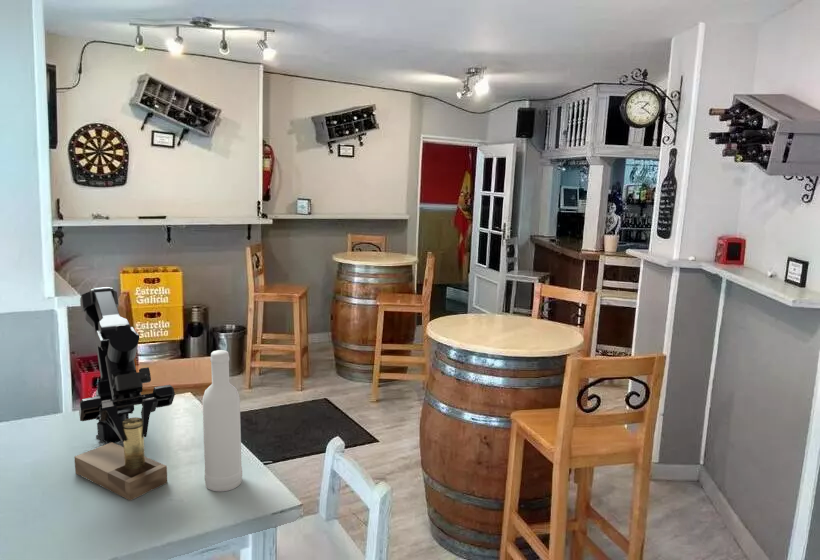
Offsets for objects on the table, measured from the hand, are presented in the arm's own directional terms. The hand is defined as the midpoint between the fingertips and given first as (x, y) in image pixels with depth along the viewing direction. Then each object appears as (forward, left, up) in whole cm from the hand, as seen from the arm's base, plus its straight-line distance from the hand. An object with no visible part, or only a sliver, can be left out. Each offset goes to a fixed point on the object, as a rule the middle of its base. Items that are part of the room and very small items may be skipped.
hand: (134, 438), depth 133 cm
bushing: (-1, -1, -7) cm, 7 cm away
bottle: (-12, +13, -12) cm, 21 cm away
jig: (-1, -7, -11) cm, 13 cm away
